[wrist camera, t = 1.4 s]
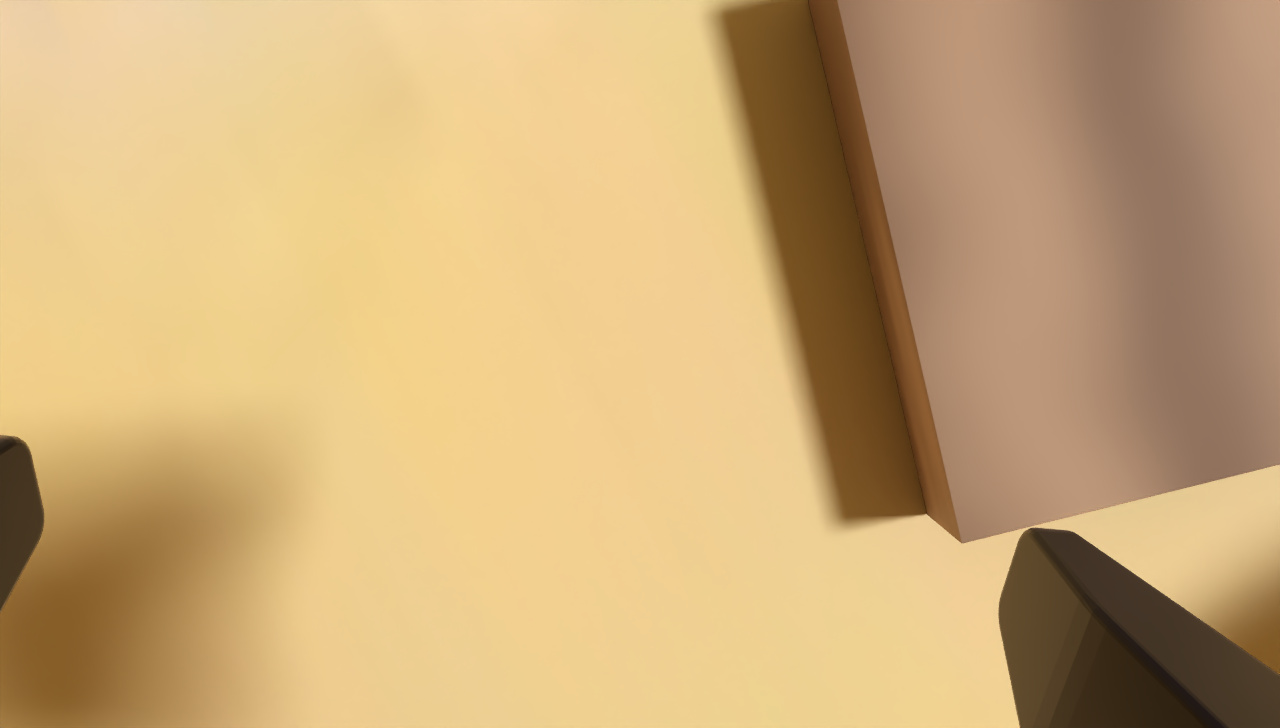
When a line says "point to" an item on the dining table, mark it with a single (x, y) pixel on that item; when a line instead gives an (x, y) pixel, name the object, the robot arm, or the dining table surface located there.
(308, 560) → the dining table surface
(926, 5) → the walnut base
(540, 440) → the dining table surface
